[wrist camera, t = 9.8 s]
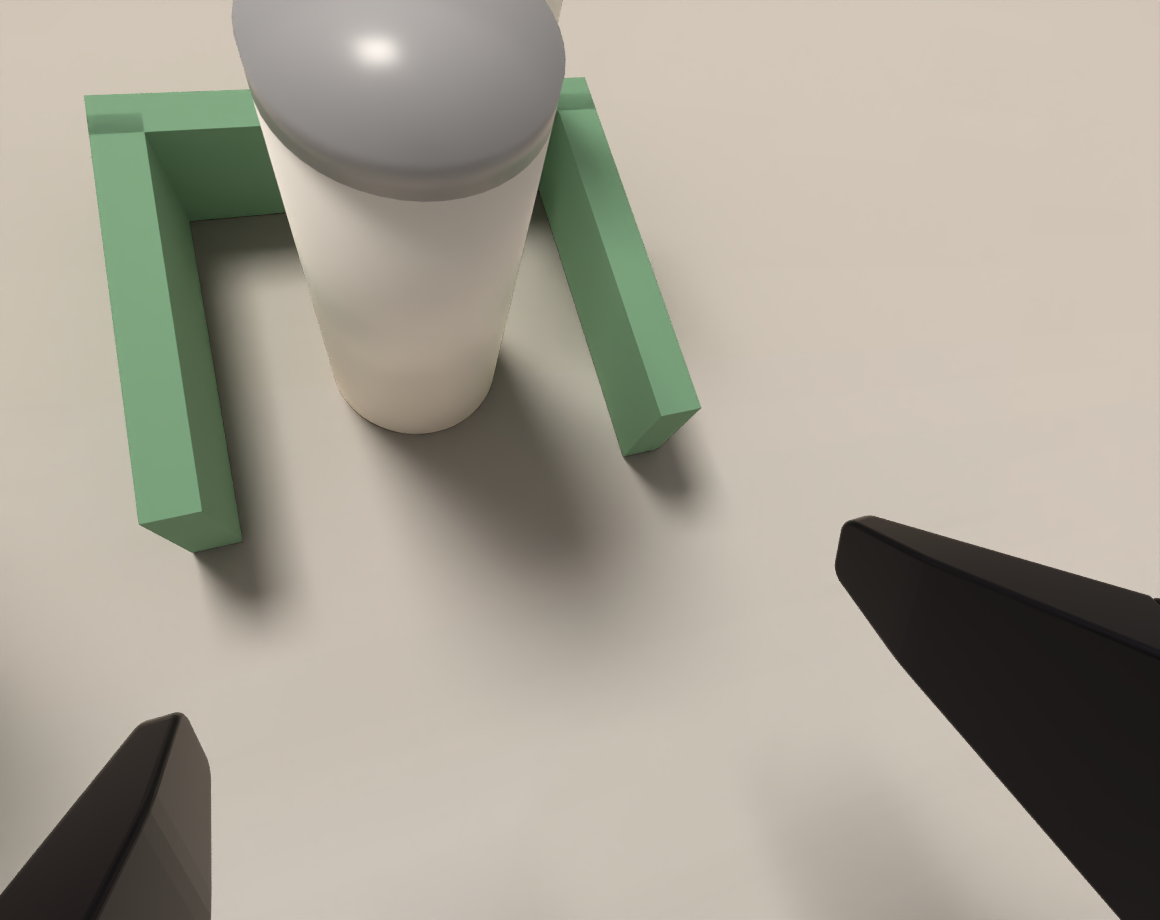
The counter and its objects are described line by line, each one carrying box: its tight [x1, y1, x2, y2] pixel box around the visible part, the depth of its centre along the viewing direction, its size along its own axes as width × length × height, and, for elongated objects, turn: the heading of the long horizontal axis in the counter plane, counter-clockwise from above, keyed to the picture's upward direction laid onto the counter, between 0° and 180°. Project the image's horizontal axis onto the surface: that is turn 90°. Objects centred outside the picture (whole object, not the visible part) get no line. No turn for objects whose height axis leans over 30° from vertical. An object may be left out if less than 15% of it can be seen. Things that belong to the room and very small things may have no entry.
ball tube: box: [232, 0, 566, 434], centre depth 15 cm, size 5×5×11 cm
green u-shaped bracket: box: [84, 0, 701, 553], centre depth 15 cm, size 11×13×10 cm
